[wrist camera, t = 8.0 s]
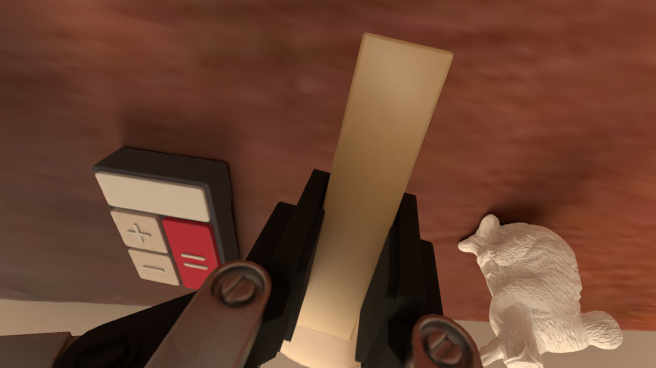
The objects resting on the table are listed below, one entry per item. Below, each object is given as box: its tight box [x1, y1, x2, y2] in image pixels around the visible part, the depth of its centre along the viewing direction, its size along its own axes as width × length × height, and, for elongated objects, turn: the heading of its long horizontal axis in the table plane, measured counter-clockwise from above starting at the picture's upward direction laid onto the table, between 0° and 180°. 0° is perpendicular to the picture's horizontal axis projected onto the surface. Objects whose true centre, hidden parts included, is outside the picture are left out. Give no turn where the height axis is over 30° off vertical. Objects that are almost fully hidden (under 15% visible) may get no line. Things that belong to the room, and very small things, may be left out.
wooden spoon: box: [280, 32, 454, 368], centre depth 10 cm, size 12×4×3 cm, turn 169°
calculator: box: [93, 148, 240, 289], centre depth 32 cm, size 11×4×15 cm
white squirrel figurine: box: [458, 214, 623, 368], centre depth 22 cm, size 8×7×12 cm
